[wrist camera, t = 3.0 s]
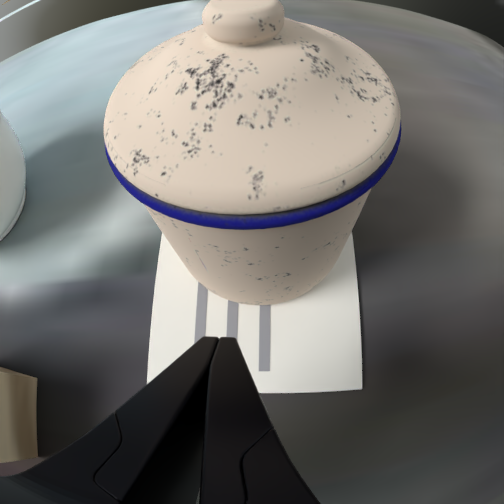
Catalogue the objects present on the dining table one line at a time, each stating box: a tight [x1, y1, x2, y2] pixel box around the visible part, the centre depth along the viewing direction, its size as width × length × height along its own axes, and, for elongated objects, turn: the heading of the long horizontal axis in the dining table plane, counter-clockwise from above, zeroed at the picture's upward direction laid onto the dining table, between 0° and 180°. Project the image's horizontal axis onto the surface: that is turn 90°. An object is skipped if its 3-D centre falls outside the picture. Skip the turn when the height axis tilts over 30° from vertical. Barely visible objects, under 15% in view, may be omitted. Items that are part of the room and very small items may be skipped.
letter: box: [147, 231, 362, 393], centre depth 16 cm, size 12×10×1 cm
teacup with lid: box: [104, 0, 401, 305], centre depth 12 cm, size 12×9×12 cm
